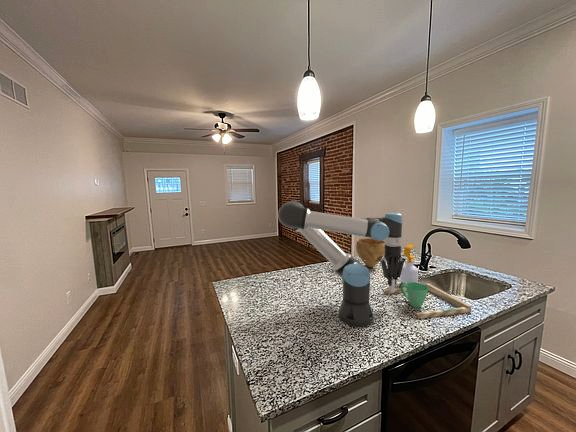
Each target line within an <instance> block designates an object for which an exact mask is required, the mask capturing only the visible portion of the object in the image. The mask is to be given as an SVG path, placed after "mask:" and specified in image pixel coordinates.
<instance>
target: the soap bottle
mask: <svg viewBox="0 0 576 432" xmlns="http://www.w3.org/2000/svg"><path fill="white" fill-rule="evenodd" d="M415 247H416V245H414V244H412V243H410V244H409V243H408V244H407V245H406V246H404V249H403V257H404V258H407V259H408V260H406V264H403V268H402V272H401V276H400V283H401V282H402V281H405V282H407V283H410V282H416V283H419V269H418V267H417V266H415V265H414V261H413V259H415V258H416V256H415V255H412V254H411V250H412V249H413V248H415ZM404 288H406V285H404Z"/></svg>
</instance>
